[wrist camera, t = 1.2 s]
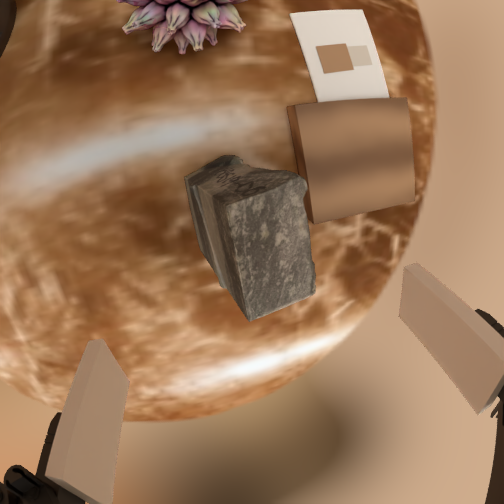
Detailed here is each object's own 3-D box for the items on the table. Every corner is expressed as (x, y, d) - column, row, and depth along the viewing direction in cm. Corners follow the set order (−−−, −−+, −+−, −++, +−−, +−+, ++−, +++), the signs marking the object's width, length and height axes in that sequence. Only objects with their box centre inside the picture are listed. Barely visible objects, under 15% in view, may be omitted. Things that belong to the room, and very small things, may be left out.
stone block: (225, 153, 28) (175, 165, 27) (309, 163, 16) (222, 181, 14) (240, 235, 32) (194, 249, 30) (319, 295, 20) (250, 324, 18)
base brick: (286, 107, 27) (295, 105, 24) (391, 98, 28) (406, 97, 25) (305, 215, 32) (314, 224, 29) (400, 194, 33) (415, 201, 30)
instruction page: (288, 14, 22) (290, 13, 22) (361, 10, 23) (363, 9, 22) (321, 115, 28) (322, 115, 27) (389, 103, 28) (391, 103, 27)
